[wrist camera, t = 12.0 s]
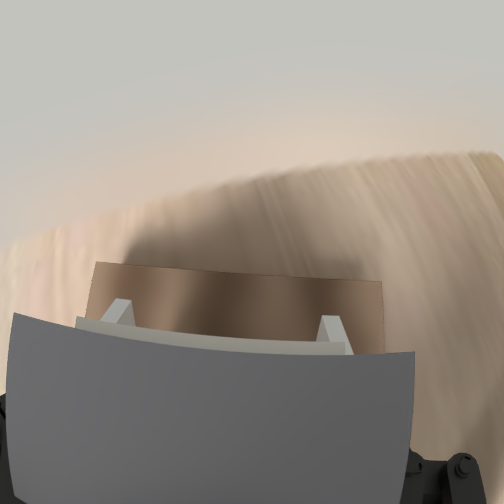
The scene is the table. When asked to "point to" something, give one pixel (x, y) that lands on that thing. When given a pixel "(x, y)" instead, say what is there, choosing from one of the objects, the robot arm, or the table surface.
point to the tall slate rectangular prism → (201, 418)
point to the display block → (241, 303)
